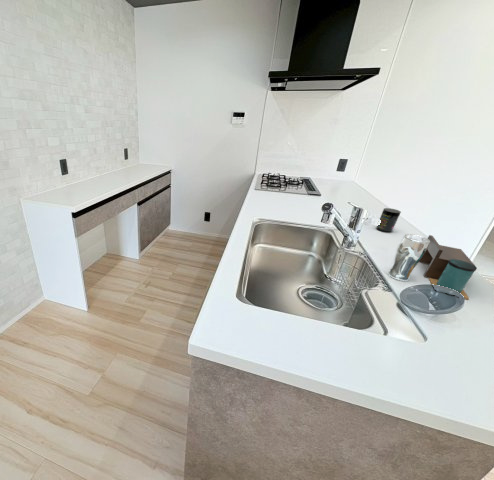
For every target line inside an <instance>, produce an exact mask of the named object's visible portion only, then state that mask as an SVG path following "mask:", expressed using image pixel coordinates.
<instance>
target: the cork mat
mask: <svg viewBox="0 0 494 480" xmlns="http://www.w3.org/2000/svg"><path fill="white" fill-rule="evenodd" d="M428 281H429V283H430V285H431V284H434V285H437V284H436V283H437V281H438V280H436V279H432V278H428ZM461 294H462V295H463V296H464V298H465V299H464V300H467V301H469V299H470V297H469V295H468V294H467V293H466V291H465V290H464V289H463V290H462V292H461Z"/></svg>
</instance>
